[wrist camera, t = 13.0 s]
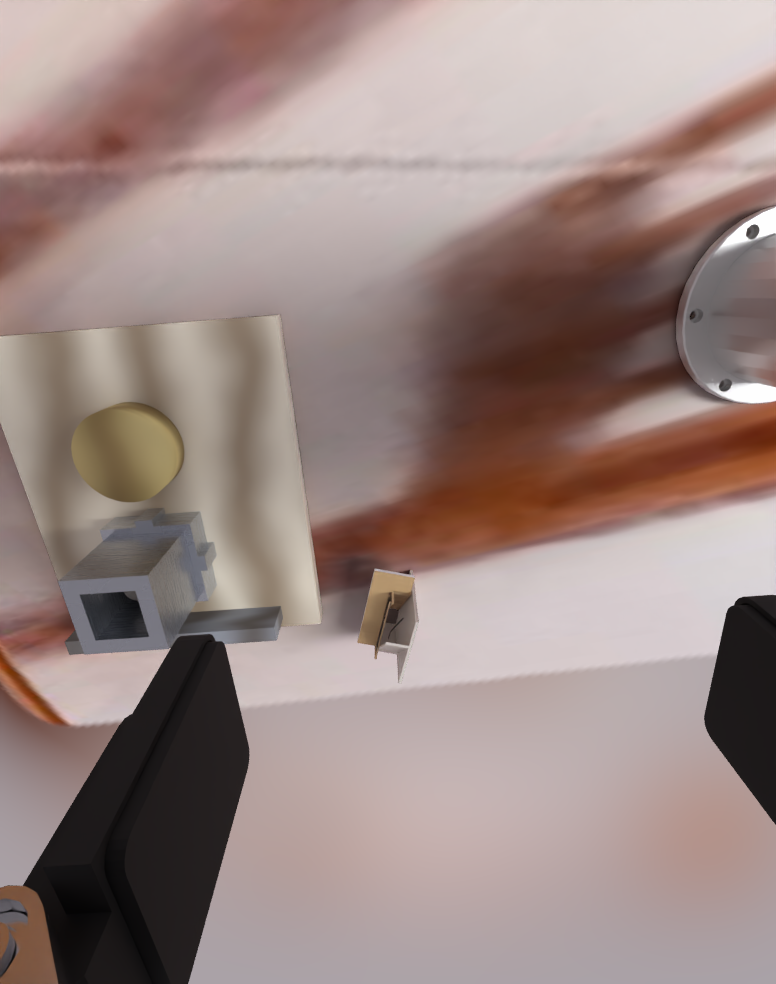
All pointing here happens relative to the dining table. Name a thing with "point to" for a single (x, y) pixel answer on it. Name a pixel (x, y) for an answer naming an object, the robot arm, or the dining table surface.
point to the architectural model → (383, 596)
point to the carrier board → (216, 434)
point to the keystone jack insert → (140, 582)
